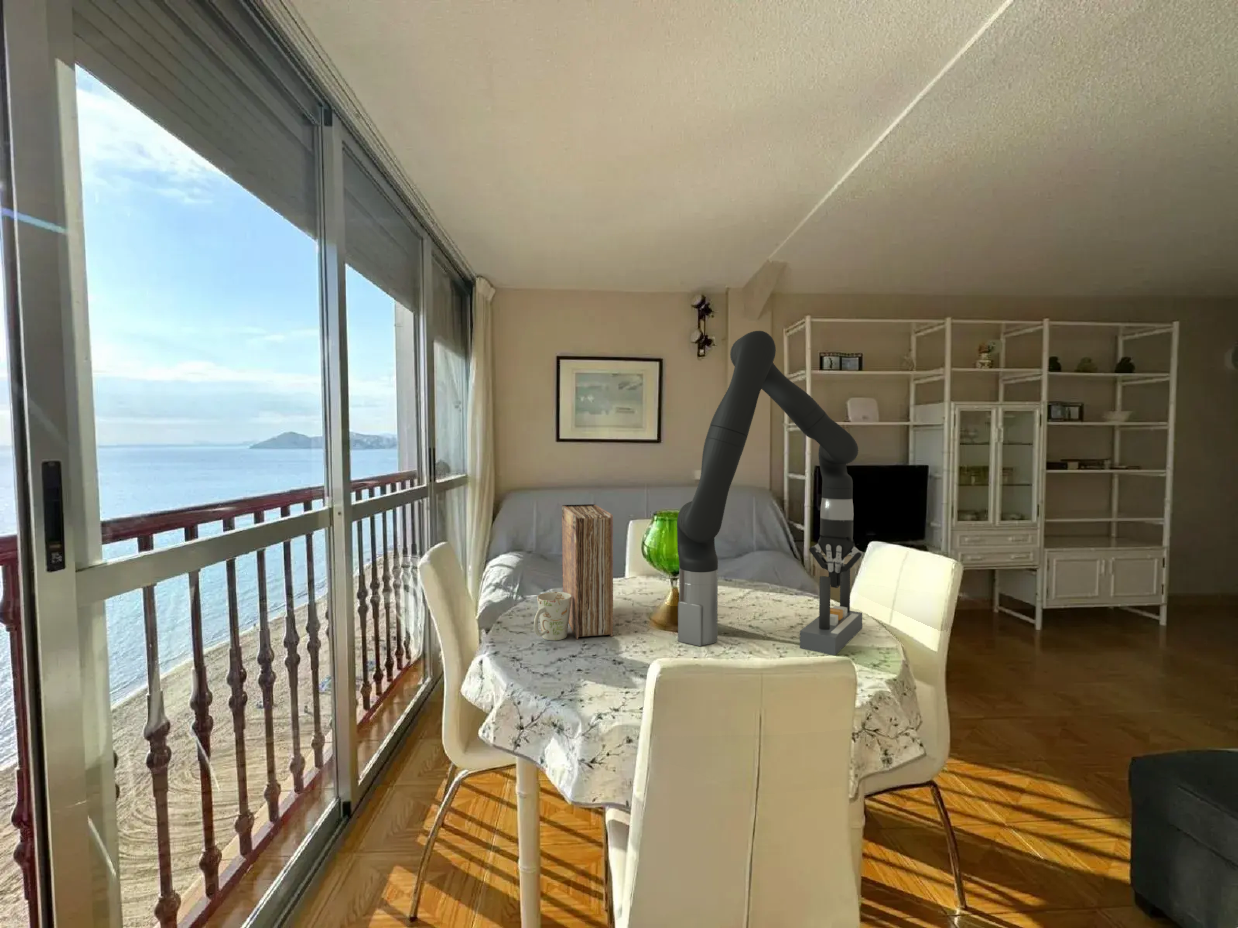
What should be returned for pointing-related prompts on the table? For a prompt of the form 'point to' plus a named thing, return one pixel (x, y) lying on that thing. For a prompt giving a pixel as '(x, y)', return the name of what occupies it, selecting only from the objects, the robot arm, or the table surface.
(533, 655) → the table surface
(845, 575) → the post
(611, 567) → the book
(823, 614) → the post
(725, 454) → the robot arm
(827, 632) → the switch panel
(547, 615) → the mug
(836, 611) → the orange paddle
